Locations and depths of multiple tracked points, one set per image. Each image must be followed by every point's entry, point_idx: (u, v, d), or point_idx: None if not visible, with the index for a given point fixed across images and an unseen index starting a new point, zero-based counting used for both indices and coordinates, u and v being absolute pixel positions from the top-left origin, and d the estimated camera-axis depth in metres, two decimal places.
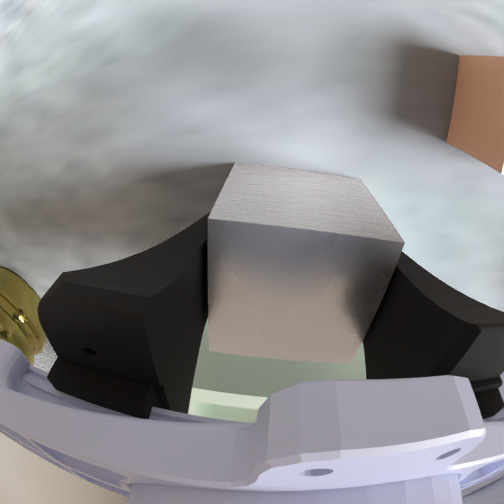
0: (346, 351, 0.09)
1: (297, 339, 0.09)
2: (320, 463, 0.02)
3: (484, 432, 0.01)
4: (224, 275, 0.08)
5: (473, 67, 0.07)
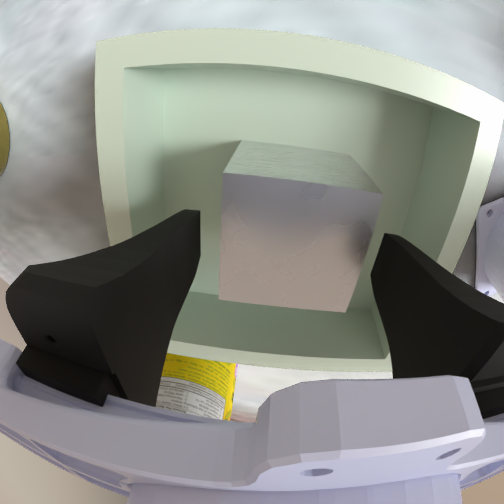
0: (340, 299, 0.11)
1: (297, 285, 0.11)
2: (320, 463, 0.02)
3: (484, 432, 0.01)
4: (234, 222, 0.10)
5: None
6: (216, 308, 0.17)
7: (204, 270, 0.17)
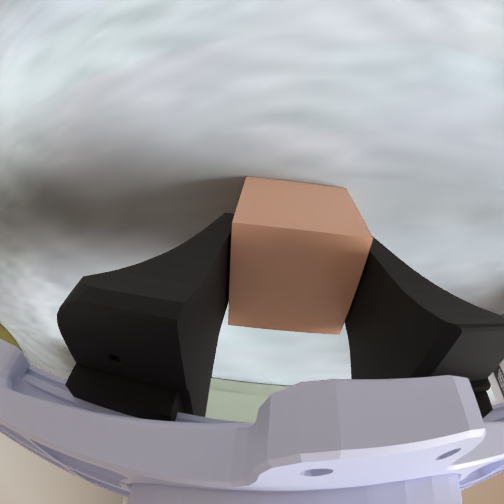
0: None
1: None
2: (320, 463, 0.02)
3: (484, 432, 0.01)
4: None
5: None
6: None
7: None
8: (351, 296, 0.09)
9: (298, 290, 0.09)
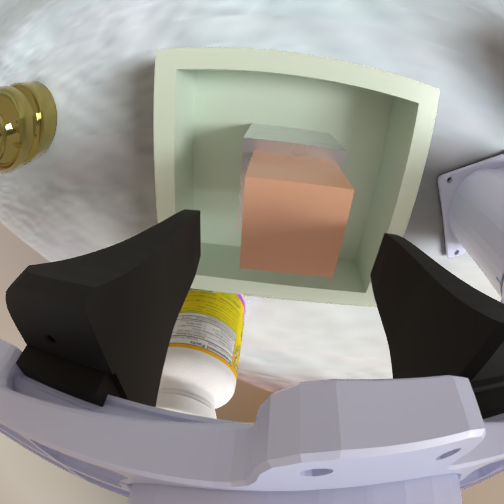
0: None
1: None
2: (320, 463, 0.02)
3: (484, 432, 0.01)
4: None
5: None
6: (230, 254, 0.22)
7: (221, 224, 0.22)
8: (340, 240, 0.12)
9: (297, 234, 0.12)
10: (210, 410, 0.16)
